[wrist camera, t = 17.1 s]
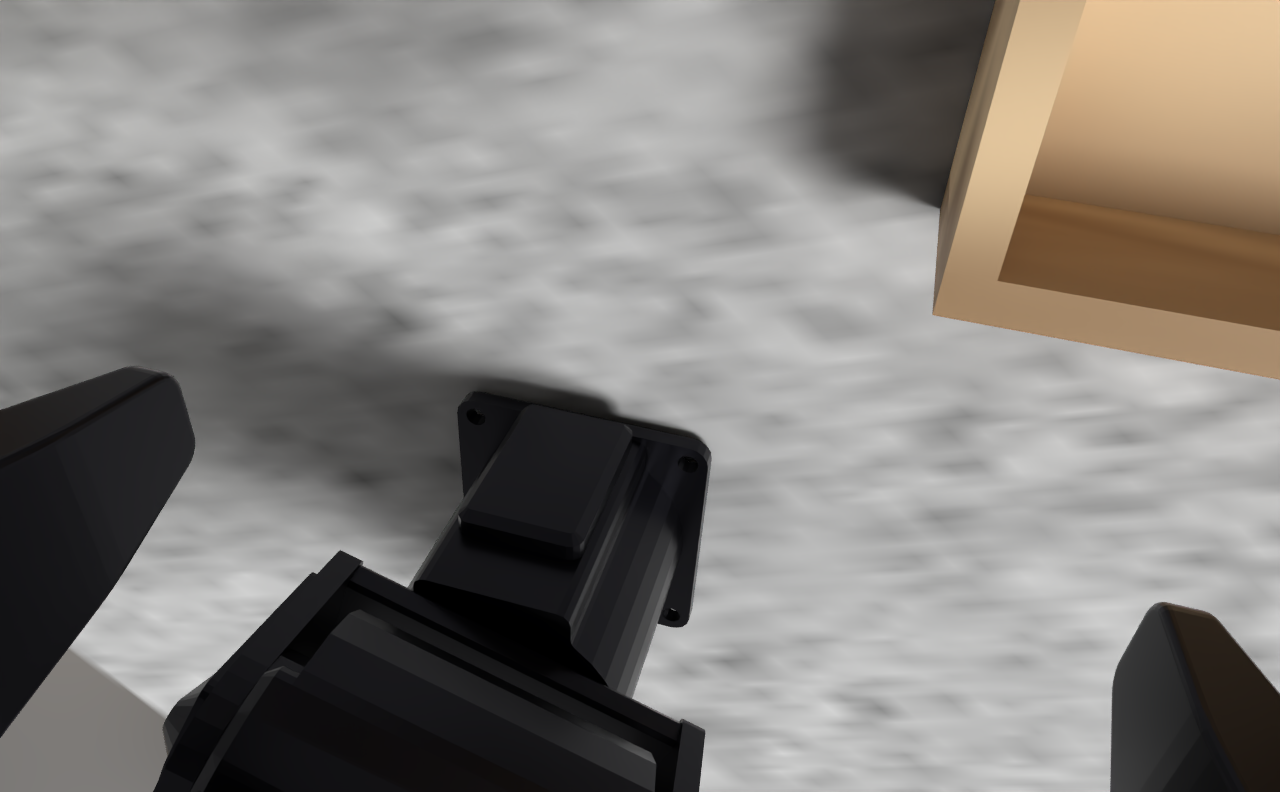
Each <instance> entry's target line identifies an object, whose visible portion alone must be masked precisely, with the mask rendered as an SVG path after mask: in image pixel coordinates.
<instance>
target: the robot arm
mask: <svg viewBox="0 0 1280 792" xmlns="http://www.w3.org/2000/svg"><path fill="white" fill-rule="evenodd" d="M474 409H477V410H479V411H481V412H482V413H483V414H484V416H482V415H480V414H478V413H477V412H476V411H475V410H474ZM457 414H458V427H459V440H460V453H461V467H462V480H463V493H464V499H463V500H462V502H461V504H460V505H459V507H458V508H457V510H456V512H455V513H454V515H453V516H452V518H451V519H450V521H449V523H448V524H447V526H446V527H445V529H444V531H443V532H442V534H441V535H440V537H439V539H438V540H437V542H436V543H435V545H434V546H433V548H432V550H431V551H430V553H429V554H428V556H427V558H426V559H425V561H424V562H423V564H422V565H421V567H420V569H419V570H418V572H417V573H416V575H415V577H414V578H413V580H412V581H411V583H410V585H409V586H408V588H406V587H404V586H402V585H400V584H398V583H396V582H394V581H392V580H390V579H388V578H386V577H384V576H382V575H380V574H378V573H376V572H374V571H372V570H370V569H368V568H366V567H364V566H362V565H363V561H361V560H359V559H357V558H355V557H353V556H351V555H349V554H347V553H345V552H343V551H341V550H340V551H339V552H338V553H337V554H336V555H335V556H334V557H333V558H332V559H331V560H330V561H329V562H328V563H327V564H326V565H325V566H324V567H323V568H322V570H321V571H320V572H319V573H318V574H316V573H314V572H312V573H311V574H310V575H309V576H308V577H307V578H306V579H305V580H304V581H303V582H302V583H301V584H300V585H299V586H298V587H297V588H296V589H295V590H294V592H293V593H292V594H291V595H290V596H289V597H288V598H287V599H286V600H285V601H284V602H283V603H282V604H281V605H280V606H279V607H278V608H277V609H276V610H275V611H274V612H273V613H272V615H271V616H270V617H269V618H268V619H267V620H266V621H265V622H264V623H263V624H262V625H261V626H260V627H259V628H258V629H257V630H256V631H255V632H254V633H253V634H252V635H251V637H250V638H249V639H248V640H247V641H246V642H245V643H244V644H243V645H242V646H241V647H240V648H239V649H238V650H237V651H236V652H235V653H234V654H233V655H232V656H231V657H230V659H229V660H228V661H227V662H226V663H225V664H224V665H223V666H222V667H221V668H220V669H219V670H218V671H217V672H216V673H215V674H214V675H212V676H211V677H210V678H208V679H207V680H206V681H204V682H203V683H202V684H200V685H199V686H198V687H196V688H195V689H194V690H192V691H191V692H189V693H188V694H187V695H185V696H184V697H183V698H181V699H180V700H179V701H178V702H177V704H176V705H175V706H174V707H173V709H172V710H171V712H170V713H169V715H168V717H167V718H166V720H165V722H164V725H163V735H164V740H165V745H166V750H167V756H168V757H167V759H166V761H165V764H164V766H163V769H162V772H161V775H160V777H159V781H158V783H157V785H156V787H155V789H154V791H153V792H699V786H700V776H701V767H702V758H703V748H704V739H705V730H704V729H702V728H700V727H698V726H696V725H694V724H692V723H690V722H688V721H686V720H684V719H681V720H680V722H678V721H676V720H674V719H672V718H670V717H668V716H666V715H664V714H662V713H660V712H658V711H656V710H654V709H652V708H650V707H648V706H646V705H644V704H642V703H640V702H638V701H636V700H634V699H632V697H633V694H634V691H635V688H636V685H637V682H638V679H639V676H640V673H641V670H642V667H643V664H644V661H645V659H646V656H647V653H648V650H649V647H650V644H651V641H652V638H653V635H654V632H655V629H656V626H657V624H661V625H665V626H669V627H676V628H677V627H683V626H684V625H686V624H687V622H688V620H689V617H690V614H691V611H692V606H693V598H694V590H695V583H696V575H697V567H698V560H699V552H700V544H701V537H702V529H703V521H704V513H705V506H706V498H707V490H708V483H709V475H710V467H711V459H712V458H711V452H710V450H709V449H708V447H707V446H706V445H705V444H703V443H702V442H701V441H698V440H696V439H693V438H688V437H684V436H679V435H675V434H670V433H666V432H661V431H656V430H652V429H647V428H643V427H638V426H634V425H629V424H624V423H620V422H615V421H611V420H606V419H602V418H597V417H593V416H588V415H583V414H579V413H574V412H570V411H565V410H561V409H556V408H551V407H547V406H542V405H538V404H533V403H529V402H524V401H519V400H515V399H510V398H506V397H501V396H497V395H492V394H488V393H483V392H472V393H470V394H468V395H467V396H466V397H465V399H464V400H463V401H462V403H461V404H460V406H459V407H458V412H457ZM194 449H195V437H194V433H193V429H192V426H191V422H190V419H189V415H188V412H187V408H186V405H185V402H184V398H183V395H182V391H181V388H180V385H179V383H178V382H177V380H176V379H175V378H174V377H173V376H172V375H170V374H168V373H165V372H161V371H157V370H153V369H148V368H144V367H138V366H130V367H125V368H122V369H119V370H116V371H113V372H110V373H107V374H104V375H102V376H99V377H96V378H93V379H90V380H87V381H84V382H81V383H78V384H75V385H72V386H69V387H67V388H64V389H61V390H58V391H55V392H52V393H49V394H46V395H43V396H40V397H37V398H34V399H31V400H29V401H26V402H23V403H20V404H17V405H14V406H11V407H8V408H5V409H2V410H0V738H1V736H2V735H3V734H4V733H5V731H6V730H7V728H8V727H9V726H10V725H11V723H12V722H13V721H14V719H15V718H16V717H17V715H18V714H19V713H20V711H21V710H22V709H23V708H24V706H25V705H26V704H27V702H28V701H29V699H30V698H31V697H32V696H33V694H34V693H35V692H36V690H37V689H38V688H39V686H40V685H41V684H42V682H43V681H44V680H45V678H46V677H47V676H48V674H49V673H50V672H51V671H52V669H53V668H54V667H55V665H56V664H57V663H58V661H59V660H60V659H61V657H62V656H63V655H64V653H65V652H66V651H67V649H68V648H69V647H70V645H71V644H72V643H73V641H74V640H75V639H76V638H77V636H78V635H79V634H80V632H81V631H82V630H83V628H84V627H85V626H86V624H87V623H88V622H89V620H90V619H91V618H92V616H93V615H94V614H95V612H96V611H97V610H98V608H99V607H100V606H101V604H102V603H103V601H104V600H105V599H106V597H107V596H108V595H109V593H110V592H111V590H112V589H113V588H114V586H115V584H116V583H117V581H118V580H119V578H120V577H121V575H122V574H123V572H124V570H125V569H126V567H127V566H128V564H129V563H130V561H131V559H132V558H133V556H134V554H135V553H136V551H137V549H138V548H139V546H140V545H141V543H142V541H143V540H144V538H145V536H146V535H147V533H148V531H149V530H150V528H151V526H152V525H153V523H154V522H155V520H156V518H157V517H158V515H159V513H160V512H161V510H162V508H163V507H164V505H165V504H166V502H167V500H168V499H169V497H170V495H171V494H172V492H173V490H174V489H175V487H176V486H177V484H178V482H179V481H180V479H181V477H182V476H183V474H184V472H185V471H186V469H187V467H188V466H189V464H190V462H191V460H192V457H193V454H194ZM683 456H689V457H691V458H694V459H695V460H696V462H689V461H687V460H685V459H684V458H683ZM672 609H674V610H672ZM675 610H676V611H675ZM1110 792H1280V693H1279V692H1278V691H1277V689H1276V688H1275V687H1274V686H1273V685H1272V684H1271V682H1270V681H1269V680H1268V679H1267V678H1266V676H1265V675H1264V674H1263V673H1262V672H1261V670H1260V669H1259V668H1258V667H1257V666H1256V664H1255V663H1254V662H1253V661H1252V660H1251V658H1250V657H1249V656H1248V655H1247V654H1246V652H1245V651H1244V650H1243V649H1242V648H1241V646H1240V645H1239V644H1238V643H1237V642H1236V640H1235V639H1234V638H1233V637H1232V636H1231V634H1230V633H1229V632H1228V631H1227V630H1226V628H1225V627H1224V626H1223V625H1222V624H1221V622H1220V621H1219V620H1218V619H1217V618H1216V617H1214V616H1213V615H1212V614H1210V613H1208V612H1205V611H1202V610H1198V609H1193V608H1189V607H1185V606H1180V605H1176V604H1172V603H1167V602H1160V603H1156V604H1154V605H1153V606H1152V607H1151V608H1150V609H1149V610H1148V611H1147V613H1146V615H1145V616H1144V618H1143V620H1142V622H1141V624H1140V625H1139V627H1138V629H1137V631H1136V633H1135V634H1134V636H1133V638H1132V640H1131V642H1130V643H1129V645H1128V647H1127V649H1126V651H1125V652H1124V654H1123V656H1122V658H1121V659H1120V661H1119V663H1118V666H1117V669H1116V672H1115V676H1114V680H1113V687H1112V724H1111V781H1110Z"/></svg>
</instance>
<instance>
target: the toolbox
mask: <svg viewBox="0 0 1280 792" xmlns="http://www.w3.org/2000/svg"><path fill="white" fill-rule="evenodd" d="M933 315H936V316H941V317H946V318H952V319H957V320H962V321H968V322H973V323H979V324H984V325H989V326H995V327H1000V328H1005V329H1011V330H1016V331H1021V332H1027V333H1032V334H1038V335H1043V336H1048V337H1054V338H1059V339H1064V340H1070V341H1075V342H1081V343H1086V344H1091V345H1097V346H1102V347H1107V348H1113V349H1118V350H1123V351H1129V352H1134V353H1140V354H1145V355H1150V356H1156V357H1161V358H1166V359H1172V360H1177V361H1183V362H1188V363H1193V364H1199V365H1204V366H1209V367H1215V368H1220V369H1226V370H1231V371H1236V372H1242V373H1247V374H1252V375H1258V376H1263V377H1268V378H1274V379H1279V380H1280V0H995V4H994V8H993V11H992V15H991V19H990V23H989V27H988V30H987V34H986V38H985V42H984V46H983V49H982V53H981V57H980V61H979V65H978V68H977V72H976V76H975V80H974V84H973V87H972V91H971V95H970V99H969V102H968V106H967V110H966V114H965V118H964V121H963V125H962V129H961V133H960V137H959V140H958V144H957V148H956V152H955V156H954V159H953V163H952V167H951V171H950V175H949V178H948V182H947V186H946V190H945V194H944V197H943V201H942V205H941V209H940V219H939V232H938V246H937V260H936V274H935V288H934V301H933Z"/></svg>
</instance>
